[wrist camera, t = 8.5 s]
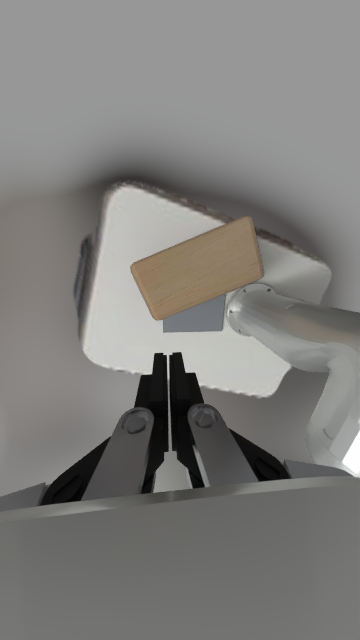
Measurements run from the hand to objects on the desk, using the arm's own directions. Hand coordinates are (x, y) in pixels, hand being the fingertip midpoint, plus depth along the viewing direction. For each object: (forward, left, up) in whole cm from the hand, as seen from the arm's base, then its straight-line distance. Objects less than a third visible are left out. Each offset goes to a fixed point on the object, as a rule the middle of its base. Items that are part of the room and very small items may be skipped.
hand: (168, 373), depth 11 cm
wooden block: (+4, -2, -22) cm, 23 cm away
